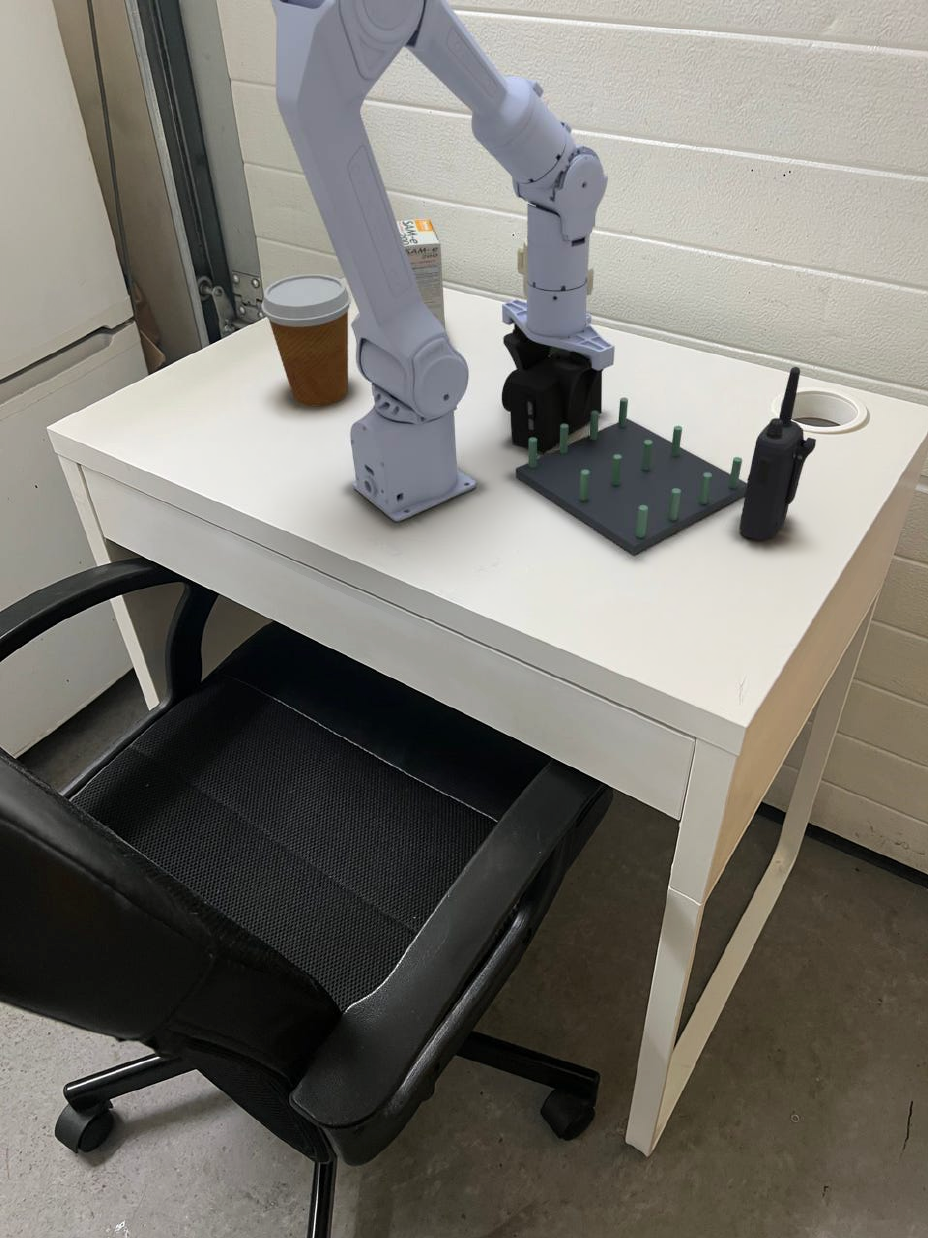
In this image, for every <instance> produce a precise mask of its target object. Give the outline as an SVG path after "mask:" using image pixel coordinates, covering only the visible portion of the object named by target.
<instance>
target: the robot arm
mask: <svg viewBox="0 0 928 1238" xmlns="http://www.w3.org/2000/svg"><path fill="white" fill-rule="evenodd" d="M270 4H271V7H272V10H273V12H274V16H275V20H276V25H275V26H276V29H275V30H276V31H275V34H276V35H275V40H276V41H275V99H276V103H277V108H278V111H279V114H280V117H281V118H282V119H281V120H282V121H283V124H284V127H285V129H286V131H287V134H288V137H289V139H290V142H291V144H292V147H293V149H294V151H295V155H296V158H297V159H298V162H299V164H300V166H301V169H302V172H303V174H304V177H305V180H306V182H307V185H308V187H309V190H310V192H311V195H312V197H313V199H314V202H315V205H316V207H317V209H318V212H319V215H320V217H321V220H322V223H323V225H324V227H325V229H326V232H327V235H328V237H329V240H330V243H331V245H332V248H333V250H334V252H335V255H336V257H337V261H338V262H339V265H340V268H341V270H342V273H343V275H344V278H345V280H346V282H347V286H348V287H349V291H350V294H351V296H352V298H353V300H354V301H353V302H354V303H355V305H356V308H357V311H358V313H357V314H356V316H355V317H354V319H353V320H352V321H351V323H350V326H351V328H352V331H353V335H354V337H355V344H356V346H355V363H356V367H357V369H358V372H359V373H360V375H361V376H362V378H364V379H365V380H366V381H367V382H369V383H371V393H372V396H373V402H374V405H373V407H372V408H371V409H370V410H369V412H368V413H366V414H365V415H364V416H363V417H361V418H360V419H358V420H356V421H355V422H354V423H352V425H351V427H350V433H349V434H350V435H349V438H350V446H351V454H352V461H353V468H354V475H355V481H354V482H353V483H352V486H353V488H354V489H355V490H356V491H357V492H359V494H361V495H362V496H363V497H365V498H366V499H367V500H368V501H370V503H372V504H373V505H374V506H376V507H377V508H378V509H379V510H380V511H382V512H383V513H384V514H385V515H386V516H388V517H389V518H390V519H391V520H392V521H394V522H401V521H403V520H406V519H408V518H410V517H413V516H414V515H417V514H419V513H421V512H424V511H425V510H428V509H430V508H433V507H435V506H437V505H439V504H441V503H444V502H446V501H448V500H450V499H453V498H454V497H458V496H460V495H461V494H463V493H466V492H468V491H470V490H473V489H474V488H476V486H477V482H476V480H474V479H473V478H472V477H470V476H469V475H467V474H466V473H465V472H463V471H462V470H461V469H459V468H458V462H457V445H456V444H457V443H456V423H455V411H456V410H458V408H457V407H458V405H459V403H460V402H461V400H462V399H463V397H464V396H465V393H466V391H467V388H468V384H469V379H470V378H469V377H470V376H469V375H470V373H469V366H468V362H467V360H466V359H465V357H464V356H463V355H462V353H461V352H460V351H458V350H457V349H455V347H454V346H453V345H452V343H451V341H450V338H449V335H448V333H447V331H446V328H445V329H444V327H443V326H442V325H441V324H440V322H439V321H438V320H437V318H436V317H435V316H434V315H433V314H432V312H431V311H430V310H429V309H428V307H427V306H426V305H425V303H424V302H423V300H422V298H421V295H420V292H419V289H418V286H417V283H416V280H415V277H414V274H413V271H412V268H411V265H410V262H409V259H408V256H407V253H406V250H405V247H404V244H403V241H402V238H401V235H400V232H399V228H398V225H397V220H396V216H395V213H394V211H393V208H392V205H391V202H390V199H389V196H388V193H387V190H386V186H385V184H384V180H383V178H382V175H381V172H380V167H379V166H378V162H377V160H376V157H375V154H374V150H373V148H372V144H371V141H370V139H369V136H368V133H367V129H366V127H365V124H364V121H363V118H362V115H361V108H362V106H363V104H364V101H365V99H366V97H367V95H368V94H369V93H370V91H371V90H372V88H373V87H374V86H375V85H376V84H377V82H378V81H379V80H380V78H381V77H382V76H383V74H384V73H385V72H386V70H387V69H389V67H390V66H391V64H392V63H393V62H394V60H395V59H396V58H397V56H398V55H399V54H400V52H401V51H402V50H403V48H405V49H406V50H408V51H409V52H410V53H411V54H412V55H413V56H414V57H415V58H416V59H418V61H419V62H420V63H421V64H422V65H423V66H424V67H425V68H426V69H427V70H428V71H430V72H431V73H432V74H433V75H434V76H435V77H436V78H437V79H438V80H439V82H441V83H442V84H443V85H444V87H446V88H447V89H448V90H449V91H451V93H452V94H453V95H454V96H455V97H456V98H457V99H458V100H459V101H460V102H461V103H463V105H464V106H466V108H468V109H469V110H470V111H471V132H472V134H473V137H474V138H475V140H476V141H478V143H479V144H480V145H481V146H482V147H483V148H484V149H485V150H486V151H487V152H488V153H489V154H490V155H491V156H492V158H493V159H495V160H496V162H497V163H498V164H499V165H500V166H501V167H502V168H503V169H504V170H505V171H506V172H507V173H508V174H509V175H510V177H511V181H512V187H513V192H514V193H515V196H516V197H517V198H518V199H519V198H520V199H522V200H523V201H524V202H526V203H527V205H526V206H527V208H526V210H527V211H526V213H527V216H526V217H527V218H526V219H527V220H526V223H527V224H526V237H527V299H526V302H525V301H522V300H520V299H517V298H515V299H513V300H511V301H508V302H506V303H502V304H501V314H502V315H501V317H502V321H501V323H504V324H506V325H508V326H511V325H514V326H513V329H512V332H509V333H507V334H505V335H504V336H503V338H502V340H503V343H502V344H503V345H504V347H505V348H506V350H507V351H508V353H509V354H510V356H511V359H512V361H513V363H514V365H515V369H521V370H525V371H526V370H528V369H530V368H531V367H533V366H534V365H536V364H538V363H539V362H541V361H542V360H544V359H546V358H547V357H549V354H550V350H551V346H553V347H557V348H561V349H565V350H567V351H569V352H570V357H567V358H564V359H562V360H559V361H557V362H554V363H553V368H554V370H555V372H556V374H557V377H558V381H559V385H560V390H561V404H562V412H563V418H564V422H565V423H567V424H570V423H572V422H575V421H577V420H579V419H581V418H582V417H583V414H584V410H585V407H586V404H587V401H588V399H589V396H590V393H591V391H592V389H593V387H594V385H595V383H596V381H597V379H598V377H599V376H600V374H601V373H602V374H603V371H604V370H605V369H607V368H609V367H611V366H613V365H614V363H615V362H614V361H615V349H616V346H615V345H614V344H612V343H610V342H608V341H607V340H605V338H603V336H601V334H600V333H599V332H598V331H597V330H596V329H594V327H593V326H592V325H591V323H592V315H591V313H588V312H587V302H588V301H587V299H588V295H587V281H588V265H589V261H590V260H589V258H590V241H591V240H590V239H591V234H592V233H593V231H594V230H593V228H594V227H596V216H597V215H596V214H597V211H598V208H599V207H600V204H601V202H602V200H603V199H604V196H605V194H606V191H607V187H608V179H609V177H608V175H606V174H605V172H604V171H605V170H604V167H603V164H602V162H601V160H600V157H599V155H598V154H597V152H596V151H594V149H592V148H590V147H588V146H584V145H581V144H578V143H576V142H575V140H574V137H573V136H572V130H573V129H572V126H570V125H569V123H568V122H567V121H563V120H560V119H558V117H556V116H555V113H553V112H552V111H551V109H550V108H549V107H548V105H547V104H546V103H545V102H544V101H543V100H542V98H541V97H542V96H543V94H544V88H543V87H542V86H541V85H540V84H539V83H538V81H537V80H533V79H529V78H523V77H521V76H518V75H510V76H505V77H503V76H502V74H501V73H500V71H499V70H498V69H497V67H496V66H495V64H493V62H492V61H491V59H490V58H489V57H488V55H487V54H486V52H485V51H484V50H483V49H482V47H481V46H480V44H479V43H478V42H477V40H476V39H475V38H474V36H473V35H472V33H471V32H470V31H469V29H468V28H467V27H466V25H465V24H464V23H463V21H462V20H461V19H460V17H459V16H458V14H457V13H456V11H455V10H454V9H453V8H452V6H451V5H450V4H449V2H448V0H270Z"/></svg>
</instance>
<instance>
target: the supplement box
mask: <svg viewBox="0 0 928 1238" xmlns="http://www.w3.org/2000/svg"><path fill="white" fill-rule="evenodd" d="M396 222H397V225H398V228H399V232H400V235H401V238H402V241H403V244H404V247H405V250H406V253H407V256H408V259H409V262H410V265H411V268H412V271H413V274H414V277H415V280H416V283H417V286H418V289H419V292H420V295H421V298H422V300H423V302H424V303H425V305H426V306H427V307H428V309H429V310H430V311H431V312H432V314H433V315H434V316H435V317H436V318H437V320H438V321H439V322H440V324H441V325H442V326H443V327H444V329H445V330H446V321H445V319H446V318H445V301H444V299H445V298H444V282H443V265H442V264H443V263H442V249H441V248H442V247H441V240H440V239H439V237H438V234H437V231H436V230H435V228H434V225H433V223H432V221H431V219H430V217H429V218H417V219H406V220H398V221H397V220H396Z"/></svg>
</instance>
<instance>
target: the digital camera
mask: <svg viewBox="0 0 928 1238" xmlns="http://www.w3.org/2000/svg"><path fill="white" fill-rule="evenodd" d="M567 357H570V352H569V351H567V350H565V349H560V350H559V351H557V352H555V353H554V354H552V355H551V356H549V357H547V358H546V359H544V360H542V361H541V362H539V363H538V364H536V365H534V366H533V367H531V368H530V369H528V370H526V371H525V370H521V369H517V368H515V369H514V370H512V371H511V372H510V373H509V374H508V376H507V377H506V379H505V381H504V383H503V385H502V391H501V405H502V407H503V408H504V410H505V411H506V412H508V413H509V414H510V431H511V432H510V433H511V442H512V444H513V445H516V446H520V447H523V448H525V449H528V450H529V439H530V438H536V439H537V453H541V454H544V455H546V453H548V452H549V451H550V450H552V449H554V448H555V447H556V446H558V445H560V426H561V424H567V423H565V422H564V418H563V412H562V404H561V390H560V385H559V381H558V377H557V374H556V372H555V370H554V368H553V363H554V362H557V361H559V360H562V359H564V358H567ZM602 398H603V372H602V373H601V374H600V376H599V377H598V379H597V381H596V383H595V385H594V387H593V389H592V391H591V393H590V396H589V399H588V401H587V404H586V407H585V410H584V414H583V417H582V418H581V419H579V420H577V421H575V422H572V423H570V424H567V425H568V426H569V427H568V438H569V437H570V436H571V435H573V434H574V433H576V432H577V431H578V430H580V429H581V428H583V427H584V426H585V425H587V424H588V423H590V417H591V412H592V411H598V412H599V415H601V414H602V412H603V411H602V410H603V408H602V407H603V399H602Z"/></svg>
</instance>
